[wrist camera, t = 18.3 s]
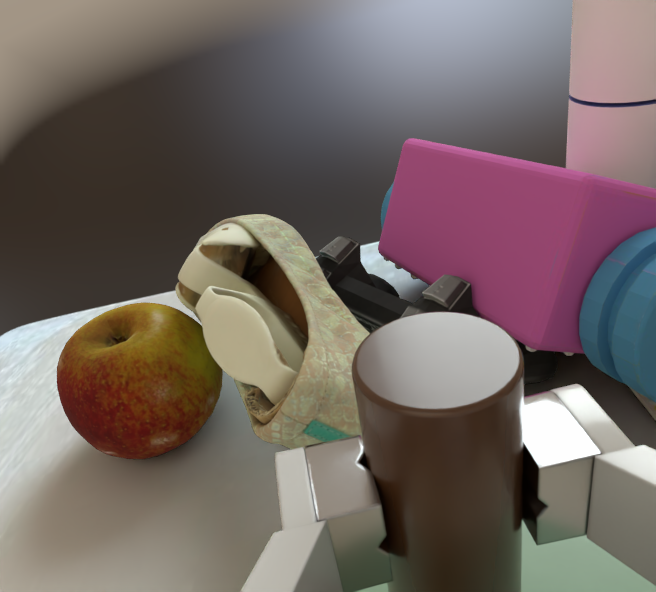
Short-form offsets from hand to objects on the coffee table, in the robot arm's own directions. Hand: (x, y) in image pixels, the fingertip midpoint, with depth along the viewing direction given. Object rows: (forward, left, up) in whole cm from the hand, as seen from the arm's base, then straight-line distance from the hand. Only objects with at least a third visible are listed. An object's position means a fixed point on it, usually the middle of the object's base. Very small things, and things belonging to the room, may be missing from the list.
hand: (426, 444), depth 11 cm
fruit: (+19, -17, -17) cm, 30 cm away
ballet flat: (+9, -21, -11) cm, 25 cm away
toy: (0, -24, -7) cm, 25 cm away
